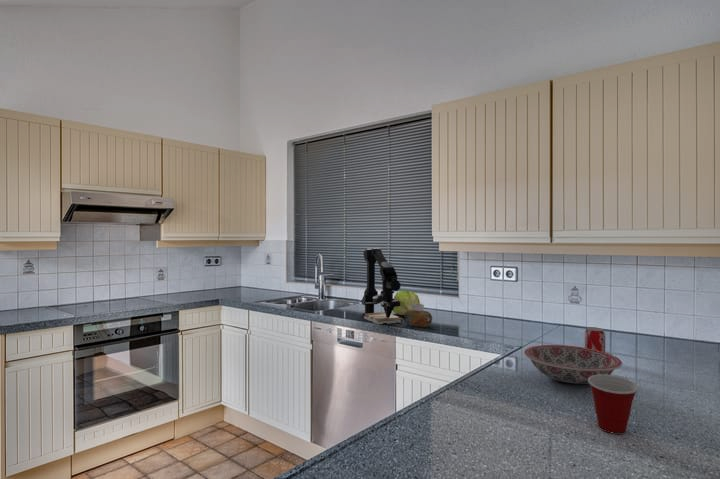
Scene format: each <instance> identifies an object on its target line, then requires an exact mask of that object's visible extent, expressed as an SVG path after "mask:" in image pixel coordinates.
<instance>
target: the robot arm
mask: <svg viewBox="0 0 720 479" xmlns="http://www.w3.org/2000/svg"><path fill="white" fill-rule="evenodd" d="M363 256H364V257H363V259H364V261H365V262H366V288H365V289H364V292H363V296H362V299H361V300H360V301H361V305H363V306H364V312H362V314H363V315H364V316H365V314H368V313H375V305H378V304H380V306H381V307H382V308H383V312H385V314H386V317H387V318H389V317H390V315H391V314H392V312H393V309H394V307H397V306H400V302H399V301H397V300H394V294H395V292H399V290H400V289H401V282H400V281H398V274H397V271H396V269H395V266H393V265H392V264H391V263H390V262H388V260H387V259H386V257H385V256H384V254H383V252H382V248H380V247H373V248H366V249H365V250H364V251H363ZM376 263H377V264H378V266H379V268H380V269H379V275H380V276H381V279H380V280H381V281H382V282H381V283H382V285H381V286H382V287H381V288H382V290H380V294H379V291H378V290H377V289H376Z"/></svg>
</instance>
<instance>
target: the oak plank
mask: <svg viewBox="0 0 720 479" xmlns="http://www.w3.org/2000/svg"><path fill="white" fill-rule="evenodd" d="M368 318H370V319H373V320H375V321H378V322H383V321H394V320H401V317H400V316H399V315H398V316H397V315H394V314H392V313H391V315H390V317H389V318H387V317H386V314H374V315H368Z"/></svg>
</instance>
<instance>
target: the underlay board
mask: <svg viewBox="0 0 720 479" xmlns="http://www.w3.org/2000/svg"><path fill="white" fill-rule="evenodd" d="M374 314H385V311H383V312H374V313H368V314H365V315H364V316H363V319H365V320H367V321H369V322H371V321H372V323H374V324H376V325H384V324H383V323H387V324H396V323H397V322H398V323H402V322H401V319H400V320H394V321H383V322H378V321H375V320H373V319H370V318H368V315H374Z"/></svg>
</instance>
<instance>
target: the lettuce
mask: <svg viewBox="0 0 720 479" xmlns="http://www.w3.org/2000/svg"><path fill="white" fill-rule="evenodd" d="M394 294H395V295H393V299H394V300H397V301H399V302H400V306H397V307H394V309H393V311H392V312H393V313H395V314H396V315H398V316H404V315H405V313H406V312H407V311H409V310H412V304H421V301H420V299H419V295H417V293H415V292H413V291H410V290H400V291H396V293H394Z"/></svg>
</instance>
